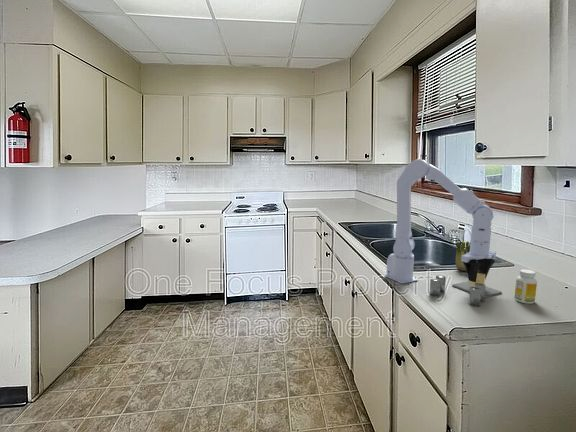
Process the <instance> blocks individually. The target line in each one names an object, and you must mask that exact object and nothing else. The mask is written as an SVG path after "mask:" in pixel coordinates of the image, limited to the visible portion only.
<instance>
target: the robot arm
mask: <svg viewBox="0 0 576 432" xmlns="http://www.w3.org/2000/svg"><path fill="white" fill-rule="evenodd" d="M424 177H425V179H426V180H430V181H431V180H432V181H435V182H437V184H439V185H440V186H441V187H442V188H443V189H445V190H446V191H447V192H449V194H451V195H452V196H453V199H452V201H453V202H454V203H456V205H458V207H460V208H461V209H462V210H463V211H465V213H467V214H469V215H471V216H472V225H471V229H470V230H471V233H470V241H469V244H470V252H469V253H467V254H465V255H462V257H461V261H463V263H464V265H465V267H466V270H467V272H466V274H467V279H468V281H472V282H475V281H476V278H477V273H478V270H479V271H482V272H486V274H485V280H487V276H488V274H489V271H490V269H491V268H492V266H493V265H494V264H495V258H497V252H496V251H493V250H490V245H491V235H492V227H491V226H492V220H493V219H494V213H493V210H492V209H491V206H489V204H486V202H485V200H483V199H482V200H481V199H480V198H479V197H478V196H476V194H474V192H475V191H473V190H472V189H470V190H469V189H468V188H462V187H461V188H460V187H459V185H457V184H456V183H455V182H454V181H453V180H452V179H450V177H448V176H447V175H446V174H445V173H444V172H443V171H442V170H440V169H439V168H437V167H436V166H434V165H433V164H430V163H429V162H428V161H427V160H425V159H419V158H418V159H414V160H412V161H411V162H409V163H408V164H407V165H406V166H405V168H404V169H403V171H402V173H401V174H400V175H399V177H398V179H397V180H396V228H397V229H396V235H395V242H394V244H393V248H392V251H393V253H390V254H389V255H388V257H387V258H386V274H384V277H386V278H388V279H390V280H392V281H395V282H398V283H400V284H408V283H412V282H417V281H419V278H417V277H414V265H415V263H414V262H415V255H414V253H413V252H412V251H413V250H414V249H415V245H416V243H415V240H414V238H413V233H412V197H411V196H412V191H411V190H412V189H411V188H412V186H413V185H414V184H415V183H416V182H418V180H420V179H422V178H424ZM492 258H493V259H492Z"/></svg>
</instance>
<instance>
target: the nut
mask: <svg viewBox="0 0 576 432" xmlns="http://www.w3.org/2000/svg"><path fill="white" fill-rule="evenodd" d="M485 274H486V272H482V271H479V270H478V273H477V278H476V281H475V282H472V281H469V280H468V281H469V285H472V286H475V284H476V283H481V284H484V285H486V279H485Z"/></svg>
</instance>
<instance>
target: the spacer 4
mask: <svg viewBox="0 0 576 432" xmlns="http://www.w3.org/2000/svg"><path fill="white" fill-rule="evenodd" d="M475 287H476V288H480V289H481V299H480V303H484V302H485V298H486V297H485V289H486V287H487V286H486V284H485V285H484V284H481V283H476V284H475Z"/></svg>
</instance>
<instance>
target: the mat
mask: <svg viewBox="0 0 576 432" xmlns="http://www.w3.org/2000/svg"><path fill="white" fill-rule="evenodd" d="M451 286H452V287H453V288H456V289H459V290H461V291H464V292H467V293H469V294H470V288H471V287H475V286H472V285H469V280H468V281H463V282H457V283H454V284H451ZM501 294H503V292H502V291H501V290H497V289H495V288H492V287H489V286H486V289H485V298H489V297H493V296H497V295H501Z"/></svg>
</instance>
